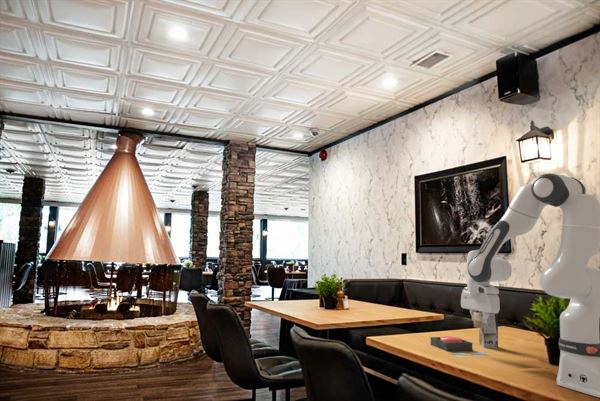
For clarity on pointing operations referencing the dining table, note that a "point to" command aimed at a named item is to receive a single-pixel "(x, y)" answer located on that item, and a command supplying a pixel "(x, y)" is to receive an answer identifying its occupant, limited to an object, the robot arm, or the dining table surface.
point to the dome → (451, 339)
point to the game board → (455, 347)
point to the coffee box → (489, 332)
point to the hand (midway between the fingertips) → (479, 322)
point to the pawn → (478, 320)
